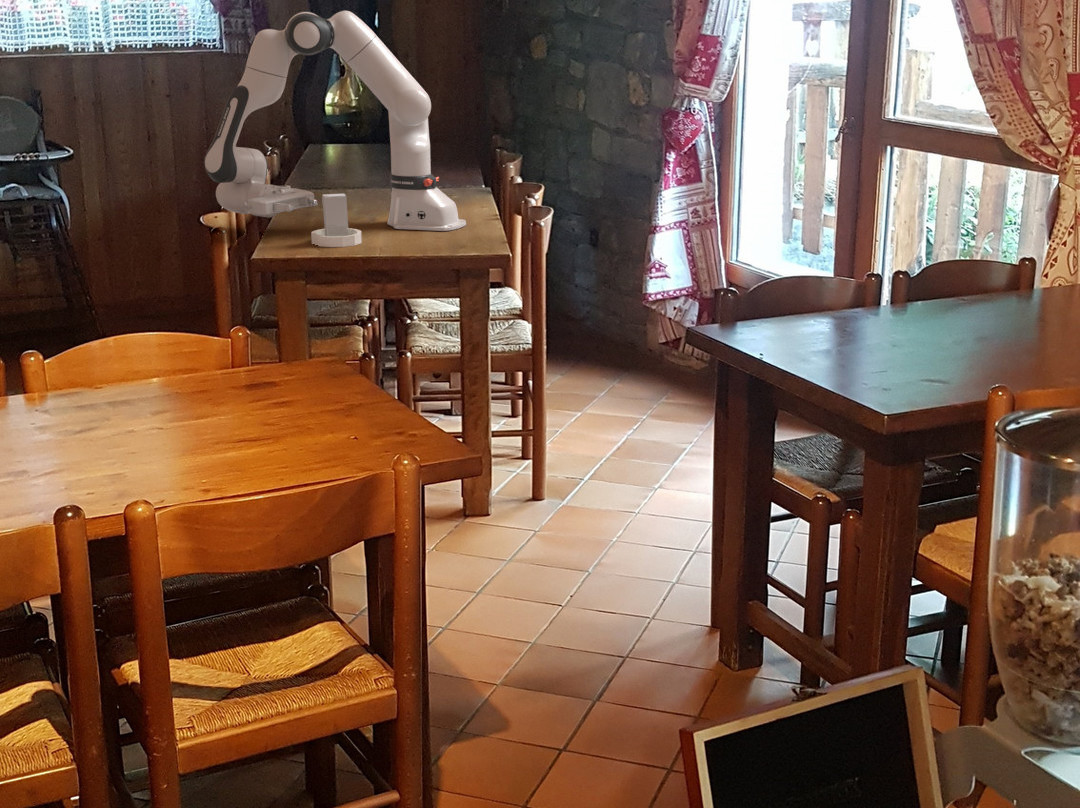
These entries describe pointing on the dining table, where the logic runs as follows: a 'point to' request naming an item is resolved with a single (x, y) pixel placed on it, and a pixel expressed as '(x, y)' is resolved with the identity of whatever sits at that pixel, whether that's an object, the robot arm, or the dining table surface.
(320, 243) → the ring dish
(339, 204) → the skincare box
